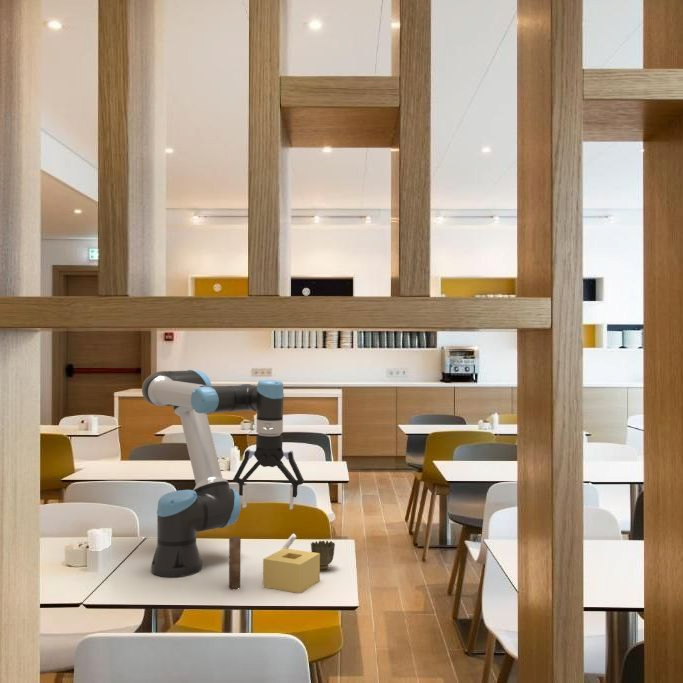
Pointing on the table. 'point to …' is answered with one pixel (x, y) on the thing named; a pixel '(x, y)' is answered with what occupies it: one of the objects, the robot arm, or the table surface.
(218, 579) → the table surface
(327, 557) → the cup
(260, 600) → the table surface
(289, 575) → the hole block
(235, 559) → the walnut peg
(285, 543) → the hook
